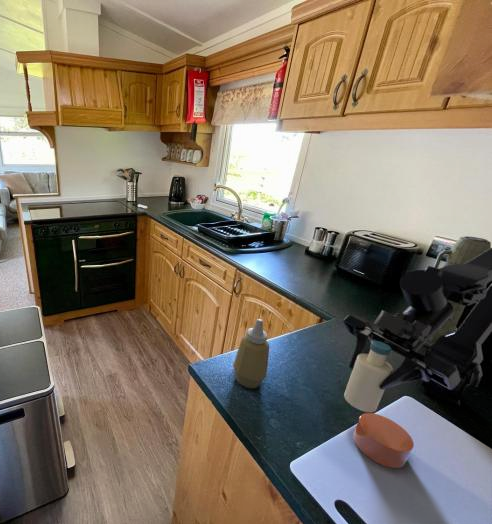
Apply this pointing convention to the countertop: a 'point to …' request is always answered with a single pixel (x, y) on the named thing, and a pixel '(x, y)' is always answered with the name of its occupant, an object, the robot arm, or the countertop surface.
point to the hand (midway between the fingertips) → (364, 377)
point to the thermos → (459, 255)
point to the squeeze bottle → (252, 357)
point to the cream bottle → (368, 378)
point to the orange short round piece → (383, 440)
